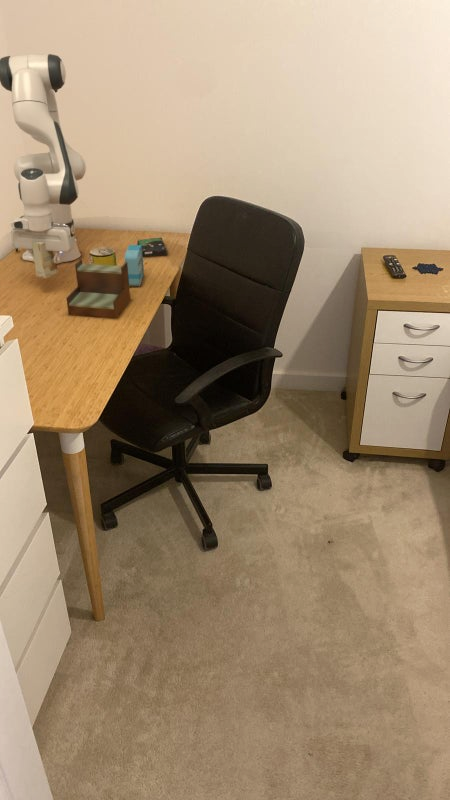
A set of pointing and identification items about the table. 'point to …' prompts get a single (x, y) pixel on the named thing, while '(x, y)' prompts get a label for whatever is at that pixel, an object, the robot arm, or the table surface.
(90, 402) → the table surface
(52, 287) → the table surface
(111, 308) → the step shelf
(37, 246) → the cosmetic box
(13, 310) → the table surface
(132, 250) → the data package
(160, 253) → the disk drive
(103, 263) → the beverage can
